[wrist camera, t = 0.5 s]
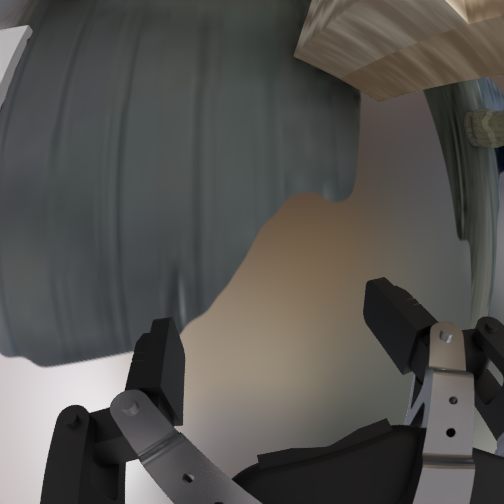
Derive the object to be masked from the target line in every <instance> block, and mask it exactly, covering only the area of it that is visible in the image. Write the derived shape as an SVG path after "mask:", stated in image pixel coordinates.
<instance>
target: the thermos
mask: <svg viewBox="0 0 504 504" xmlns="http://www.w3.org/2000/svg"><path fill="white" fill-rule="evenodd" d="M464 129H465V134H466V136H467V139H468V141H469V142H470V144H471V145H472V146H474V147H483V148H497V147H500V146H504V111H492V110H490V109H482V110H475V111H468V112H466V113H465V116H464Z"/></svg>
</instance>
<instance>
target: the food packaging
mask: <svg viewBox="0 0 504 504" xmlns="http://www.w3.org/2000/svg"><path fill="white" fill-rule="evenodd" d="M32 33H33V31H32V29H31V28H30V27H29V25H26V26H20V27H14V28H9V29H4V30H0V109H1V106H2V104H3V102H4V100H5V97H6V94H7V91H8V87H9V84H10V82H11V80H12V77H13V75H14V71H15V68H16V67H17V65H18V62H19V60H20V58H21V56H22V53H23V51H24V49H25V47H26V45H27V40H28V39H29V38H30V37H31V35H32Z"/></svg>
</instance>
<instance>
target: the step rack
mask: <svg viewBox="0 0 504 504" xmlns="http://www.w3.org/2000/svg"><path fill="white" fill-rule="evenodd" d="M293 57H295V58H298V59H300V60H302V61H304V62H307V63H309V64H311V65H313V66H315V67H317V68H319V69H321V70H323V71H325V72H327V73H329V74H331V75H333V76H335V77H337V78H339V79H341V80H343V81H344V82H346V83H348V84H350V85H352V86H353V87H355V88H357V89H359V90H360V91H362V92H364V93H365V94H367V95H369V96H370V97H372V98H374V99H375V100H377V101H383V100H386V99H390V98H393V97H397V96H400V95H404V94H408V93H412V92H416V91H419V90H424V89H428V88H432V87H437V86H441V85H446V84H450V83H455V82H460V81H466V80H471V79H477V78H483V77H490V76H497V75H504V0H312V2H311V5H310V8H309V10H308V13H307V16H306V19H305V22H304V25H303V28H302V31H301V34H300V37H299V40H298V43H297V47H296V50H295V53H294V56H293Z"/></svg>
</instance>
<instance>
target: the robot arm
mask: <svg viewBox="0 0 504 504" xmlns="http://www.w3.org/2000/svg"><path fill="white" fill-rule="evenodd" d="M363 315H364V319H365V322H366V324H367V326H368V327H369V328H370V330H371V331H372V332H373V334H374V335H375V336H376V338H377V339H378V341H379V342H380V344H381V345H382V346H383V348H384V349H385V351H386V352H387V353H388V355H389V356H390V358H391V359H392V360H393V362H394V363H395V365H396V366H397V368H398V369H399V371H400V372H401V373H402V374H403V375H404V374H407V373H409V372H411V371H413V372H414V374H415V375H414V377H413V382H412V389H411V395H410V401H409V406H408V412H407V416H406V419H405V422H404V424H403V425H390V424H389V422H388V420H387V418H386V419H384V420H381V421H379V422H376V423H373V424H371V425H368V426H365V427H363V428H360V429H357V430H356V431H354V432H353V433H351V434H349V435H348V436H346V437H344V438H343V439H341V440H339V441H338V442H336V443H335V444H332V445H330V446H327V447H316V448H290V449H286V450H281V451H277V452H271V453H266V454H260V455H257V457H258V462H259V463H256V464H254V465H252V466H250V467H248V468H246V469H244V470H243V471H241V472H240V473H238V474H237V475H236V476H234V477H233V478H232V479H230V478H229V477H228V476H227V475H226V474H225V473H223V472H222V471H221V470H220V469H219V468H218V467H217V466H215V465H214V464H213V463H212V462H211V461H210V460H209V459H208V458H207V457H206V456H205V455H204V454H202V452H200V451H199V450H198V449H197V448H196V447H195V446H194V445H193V444H192V443H191V442H190V441H189V440H188V439H187V438H186V437H185V436H184V435H183V434H182V433H181V432H180V433H179V432H178V431H177V430H176V429H175V428H174V426H182V425H183V398H184V374H185V353H184V348H183V345H182V342H181V339H180V336H179V334H178V331H177V328H176V325H175V322H174V320H173V318H172V317H170V318H163V319H155V320H153V323H152V327H151V331H150V333H144V334H143V335H142V336H141V337H140V339H139V340H138V341H137V342H136V346H135V350H134V354H133V358H132V362H131V366H130V370H129V374H128V378H127V383H126V387H125V391H124V392H122V393H120V394H118V395H117V396H116V397H115V398H114V399H113V401H112V402H111V405H110V407H109V408H106V409H102V410H99V411H95V412H92V413H89V412H88V411H87V410H86V409H85V408H84V407H83V406H80V405H71V406H69V407H67V408H65V409H64V410H62V412H61V413H60V414H59V416H58V418H57V421H56V425H55V428H54V432H53V436H52V441H51V445H50V449H49V454H48V458H47V463H46V469H45V474H44V480H43V486H42V493H41V502H40V504H125V470H126V462H128V461H132V460H136V459H139V460H140V462H141V464H142V465H143V467H144V468H145V469H146V471H147V472H148V473H149V474H150V476H151V477H152V478H153V479H154V481H155V482H156V483H157V484H158V486H159V487H160V488H161V489H162V490H163V492H165V494H166V495H167V496H168V497H169V498H170V499H171V501H172V502H173V503H174V504H504V383H503V386H502V387H501V385H500V384H499V383H498V381H497V380H496V379H495V377H494V376H493V375H492V374H491V372H490V371H489V370H488V369H487V368H488V366H489V364H490V362H491V361H492V362H493V363H494V364H495V366H496V367H497V368H498V369H499V371H500V372H501V373H502V375H503V377H504V325H503V324H502V323H501V322H500V321H498V320H497V319H495V318H492V317H482V318H480V319H479V320H478V322H477V324H476V327H475V329H469V330H460V328H459V327H458V326H456V325H455V324H453V323H450V322H438V321H437V320H436V319H435V318H434V317H433V316H432V315H431V314H430V313H429V312H428V311H427V310H426V309H425V308H424V307H423V306H422V305H421V304H419V302H418V301H417V300H416V299H413V297H412V296H411V295H410V294H409V293H408V292H407V291H406V290H404V289H402V288H400V287H398V286H393V284H391V283H390V282H389V281H388V280H387V279H386V278H385V277H382V278H378V279H374V280H370V281H368V282H367V283H366V290H365V300H364V308H363ZM474 405H475V407H476V408H477V410H478V411H479V413H480V414H481V416H482V418H483V419H484V421H485V422H486V424H487V426H488V427H489V429H490V431H491V432H492V434H493V436H494V437H495V439H496V441H497V450H496V451H495V454H491V453H489V452H486V451H482V450H479V449H476V448H473V434H474Z"/></svg>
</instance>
